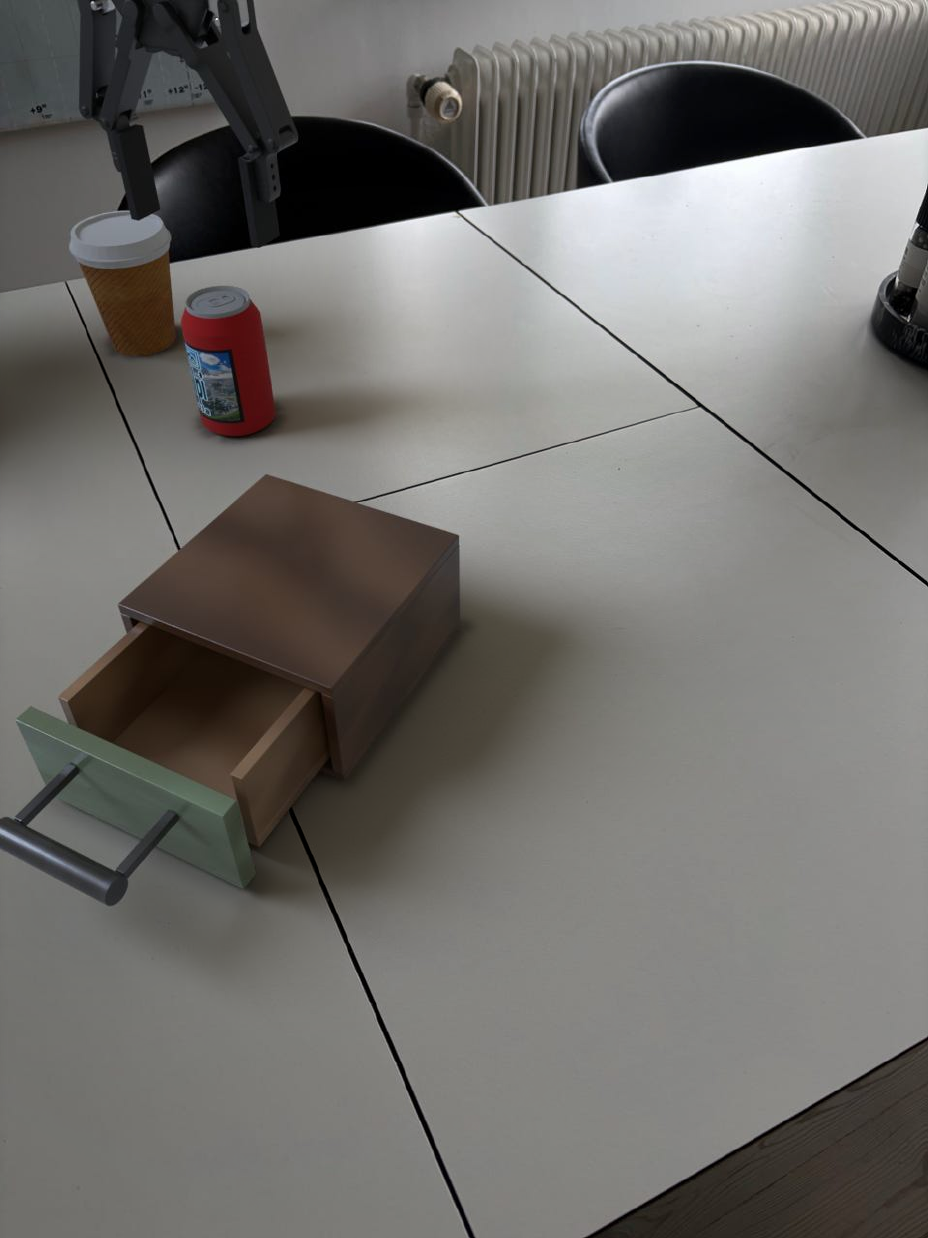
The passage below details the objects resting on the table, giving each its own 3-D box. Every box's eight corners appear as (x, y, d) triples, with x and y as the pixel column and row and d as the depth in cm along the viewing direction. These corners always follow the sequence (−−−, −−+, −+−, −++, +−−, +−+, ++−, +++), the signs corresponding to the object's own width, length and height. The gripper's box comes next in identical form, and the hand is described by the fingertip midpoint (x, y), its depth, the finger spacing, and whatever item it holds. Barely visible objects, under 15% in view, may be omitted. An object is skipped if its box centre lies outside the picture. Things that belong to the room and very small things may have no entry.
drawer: (176, 978, 52) (147, 907, 47) (-26, 868, 57) (-70, 795, 52) (378, 715, 65) (370, 639, 60) (200, 644, 70) (181, 569, 65)
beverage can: (189, 420, 93) (161, 297, 85) (252, 395, 96) (232, 274, 88) (226, 451, 89) (201, 325, 81) (291, 424, 92) (273, 301, 84)
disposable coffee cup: (79, 358, 102) (44, 241, 93) (129, 316, 108) (101, 203, 100) (162, 372, 99) (135, 253, 91) (208, 328, 106) (186, 214, 98)
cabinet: (344, 783, 62) (331, 688, 56) (147, 698, 67) (116, 603, 62) (460, 628, 72) (459, 534, 66) (281, 565, 78) (265, 473, 72)
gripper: (-33, -113, 67) (59, 217, 82) (257, -88, 59) (301, 273, 74) (49, -127, 72) (122, 187, 87) (327, -106, 64) (355, 236, 79)
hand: (204, 227), depth 80 cm, fingers open, 11 cm apart
